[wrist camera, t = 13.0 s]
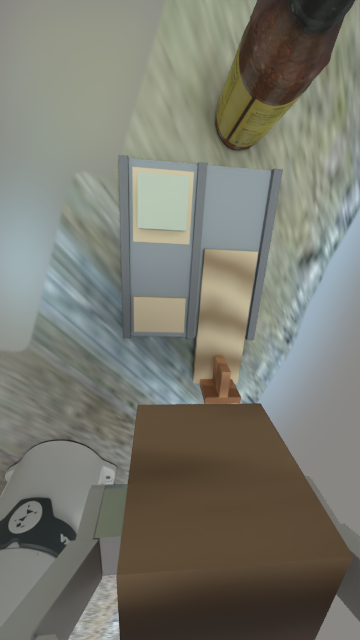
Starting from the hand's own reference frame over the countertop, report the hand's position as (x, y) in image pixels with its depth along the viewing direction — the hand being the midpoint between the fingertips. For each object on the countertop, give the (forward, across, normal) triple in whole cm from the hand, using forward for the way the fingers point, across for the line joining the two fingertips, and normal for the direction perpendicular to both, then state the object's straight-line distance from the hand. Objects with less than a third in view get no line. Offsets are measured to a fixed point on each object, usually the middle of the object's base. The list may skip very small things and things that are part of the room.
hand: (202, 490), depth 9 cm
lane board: (+27, +3, +6) cm, 28 cm away
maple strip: (+26, +7, -2) cm, 27 cm away
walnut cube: (+2, 0, 0) cm, 2 cm away
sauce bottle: (+27, +7, +22) cm, 36 cm away
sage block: (+25, -2, +12) cm, 28 cm away
